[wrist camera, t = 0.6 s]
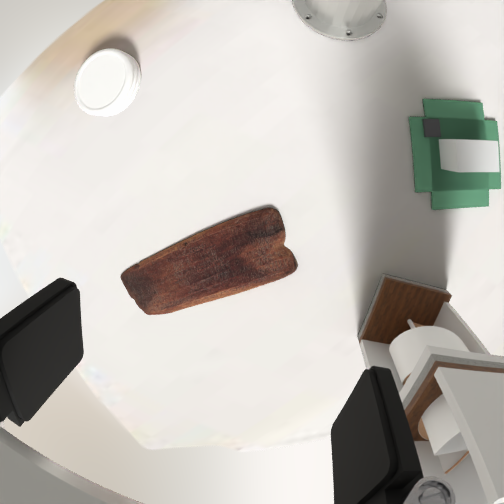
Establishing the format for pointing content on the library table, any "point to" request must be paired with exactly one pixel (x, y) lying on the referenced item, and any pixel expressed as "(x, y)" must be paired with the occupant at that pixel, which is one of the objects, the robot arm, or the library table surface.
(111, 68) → the white plate stack
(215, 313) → the library table surface
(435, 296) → the tall white box
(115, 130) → the library table surface
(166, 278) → the wooden tablet
